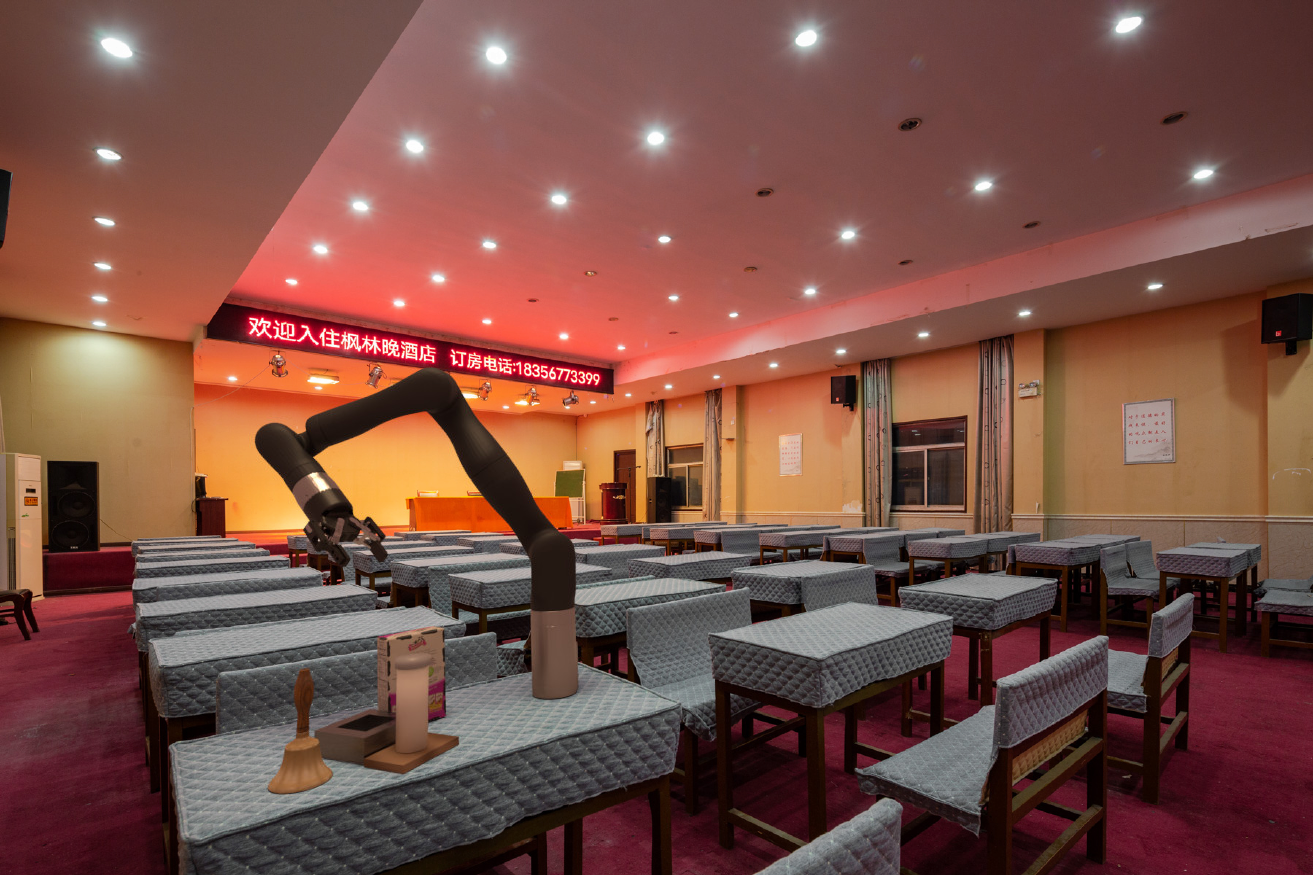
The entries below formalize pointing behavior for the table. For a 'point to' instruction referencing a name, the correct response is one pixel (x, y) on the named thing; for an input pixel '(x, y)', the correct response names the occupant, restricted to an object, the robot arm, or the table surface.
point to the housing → (357, 736)
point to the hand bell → (301, 747)
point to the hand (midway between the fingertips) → (366, 561)
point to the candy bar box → (409, 643)
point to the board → (410, 754)
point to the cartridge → (412, 702)
